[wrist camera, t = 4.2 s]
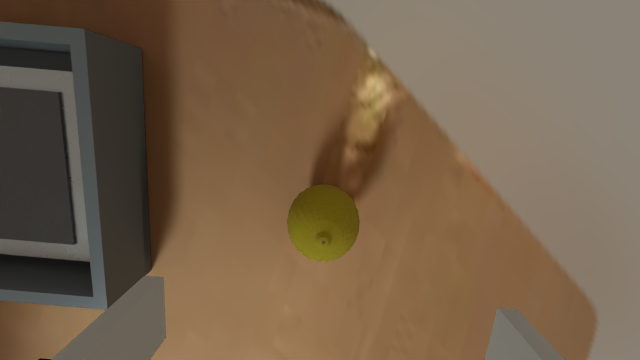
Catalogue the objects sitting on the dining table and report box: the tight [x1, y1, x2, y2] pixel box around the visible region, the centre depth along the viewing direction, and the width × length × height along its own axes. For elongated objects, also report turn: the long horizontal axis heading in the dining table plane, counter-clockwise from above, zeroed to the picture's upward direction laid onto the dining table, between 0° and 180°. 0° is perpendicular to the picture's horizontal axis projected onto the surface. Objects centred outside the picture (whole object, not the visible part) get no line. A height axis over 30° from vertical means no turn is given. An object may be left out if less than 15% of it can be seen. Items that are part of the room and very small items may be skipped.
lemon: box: [287, 184, 359, 261], centre depth 23 cm, size 6×6×8 cm
